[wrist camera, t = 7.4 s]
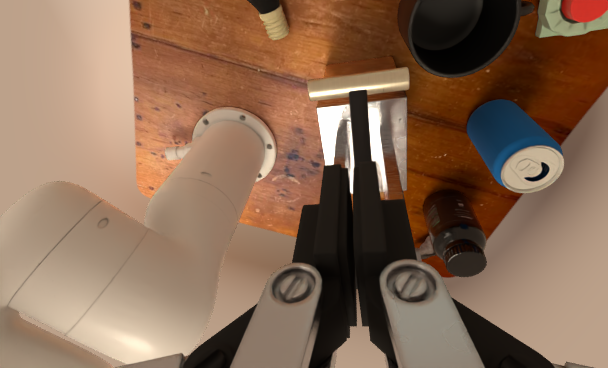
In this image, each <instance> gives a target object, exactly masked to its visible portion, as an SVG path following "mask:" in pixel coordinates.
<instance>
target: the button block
mask: <svg viewBox="0 0 608 368" xmlns="http://www.w3.org/2000/svg"><path fill="white" fill-rule="evenodd" d="M562 1H563V0H540V3H539V8H538V15H539V19H538V24H537V29H536V33H535V36H537V37H539V38H542V37H549V36H556V35H563V36H566V37H567V36H574V35H581V34H585V33H587V32H589V31H593V30H600V29H607V28H608V10H607V11H606V12H605V13H604V14H603V15H602V16H600V17H599V18H597V19H595V20H593V21H590V22H585V23H582V22H577V21H574V20H571V19H568V18H566V17H565V16H564V15H563V13H562V9H561V5H562Z"/></svg>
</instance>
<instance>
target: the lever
mask: <svg viewBox="0 0 608 368" xmlns="http://www.w3.org/2000/svg"><path fill="white" fill-rule="evenodd" d="M409 82H410V80H409V69H408V67H402V68H394V69H387V70H379V71H372V72H364V73H357V74H349V75H341V76H334V77H326V78H319V79H311V80H308V94H309V99H310V101H318V100H327V99H335V98H344V97H349V104H350V118H351V132H352V145H353V159H354V167H359V162H369V161H372V153H371V139H370V125H369V111H368V97H367V95H369V94H377V93H386V92H394V91H402V90H408V89H409ZM356 289H358V285H357V277H356Z"/></svg>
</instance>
